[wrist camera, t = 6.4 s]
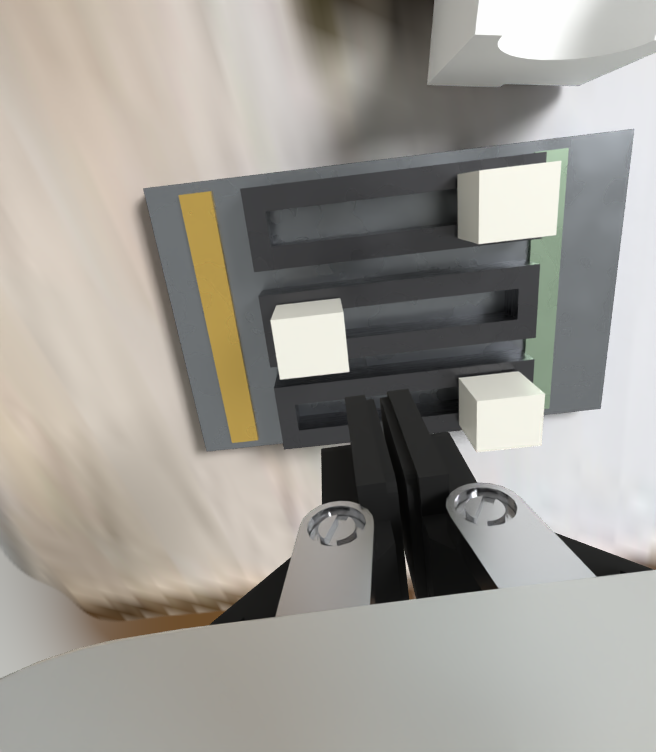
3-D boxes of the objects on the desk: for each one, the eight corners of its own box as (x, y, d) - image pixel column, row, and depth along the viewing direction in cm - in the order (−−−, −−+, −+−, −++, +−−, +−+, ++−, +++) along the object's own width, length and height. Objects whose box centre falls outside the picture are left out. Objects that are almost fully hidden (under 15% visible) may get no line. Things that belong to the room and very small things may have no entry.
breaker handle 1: (446, 176, 22) (479, 170, 18) (512, 168, 22) (561, 160, 18) (447, 235, 23) (478, 244, 19) (510, 228, 23) (556, 234, 19)
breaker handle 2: (449, 366, 26) (477, 401, 21) (505, 360, 26) (545, 393, 21) (450, 410, 27) (476, 452, 22) (504, 404, 27) (541, 445, 22)
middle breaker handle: (279, 297, 24) (270, 320, 20) (338, 291, 24) (343, 312, 20) (286, 347, 25) (280, 379, 21) (343, 341, 25) (349, 371, 21)
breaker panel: (151, 188, 23) (129, 187, 21) (618, 132, 23) (660, 122, 20) (210, 441, 29) (199, 467, 26) (589, 400, 28) (619, 422, 26)
